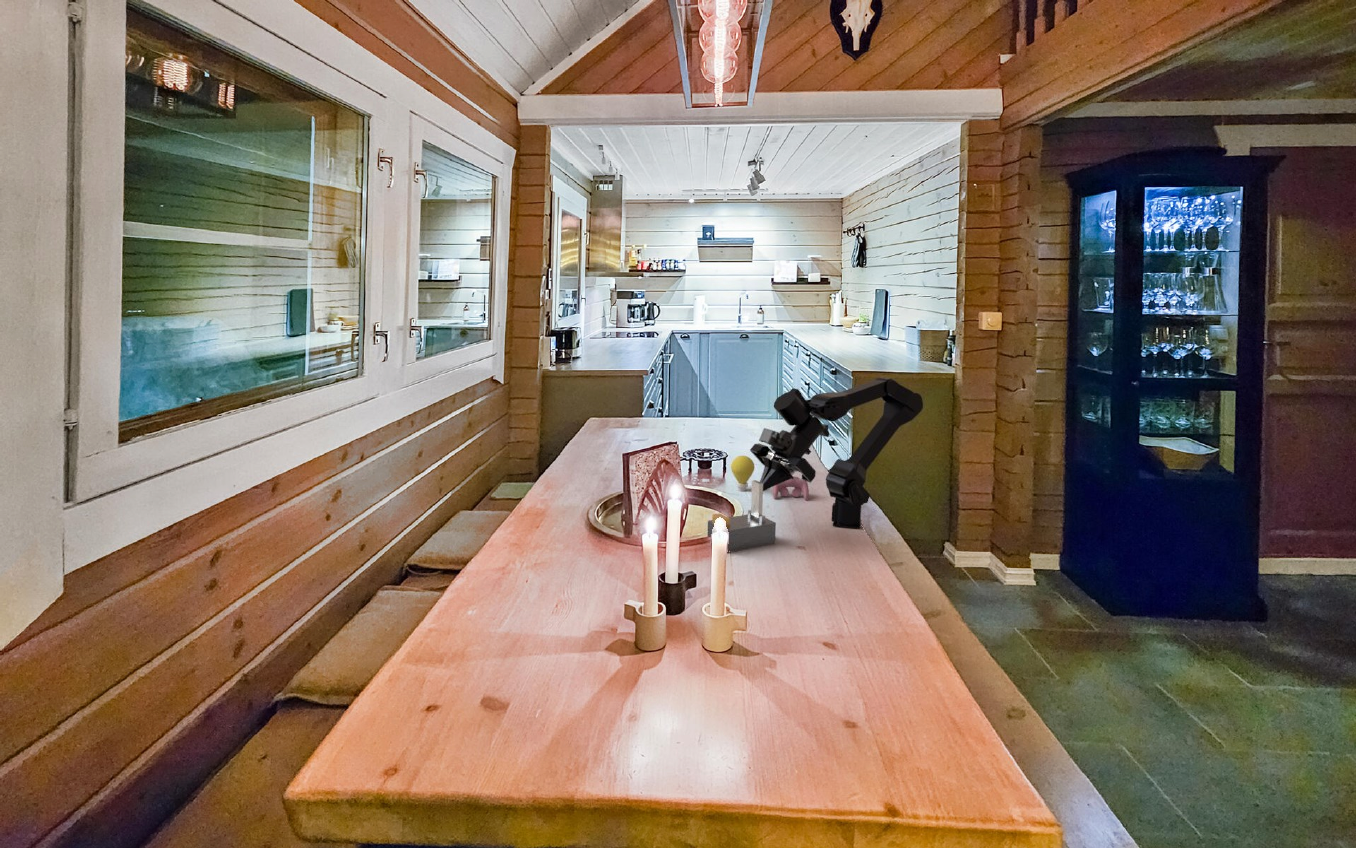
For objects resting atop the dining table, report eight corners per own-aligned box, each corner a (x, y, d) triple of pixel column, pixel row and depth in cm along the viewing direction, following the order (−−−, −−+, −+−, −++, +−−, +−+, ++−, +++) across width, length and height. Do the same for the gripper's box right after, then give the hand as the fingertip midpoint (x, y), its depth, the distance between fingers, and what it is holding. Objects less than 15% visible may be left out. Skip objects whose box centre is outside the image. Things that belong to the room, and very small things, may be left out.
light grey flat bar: (751, 516, 169) (754, 515, 170) (758, 520, 167) (762, 519, 167) (751, 480, 168) (755, 480, 168) (759, 483, 165) (763, 483, 166)
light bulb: (754, 493, 208) (755, 458, 206) (730, 493, 208) (731, 458, 206) (752, 487, 215) (753, 453, 213) (729, 486, 215) (730, 453, 213)
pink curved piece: (807, 503, 205) (808, 478, 207) (809, 500, 201) (809, 474, 203) (772, 501, 206) (772, 476, 208) (772, 498, 202) (773, 473, 204)
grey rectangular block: (755, 533, 174) (756, 504, 173) (775, 544, 167) (776, 514, 166) (707, 541, 168) (708, 512, 167) (726, 553, 161) (726, 522, 160)
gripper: (758, 409, 175) (717, 459, 172) (807, 422, 159) (763, 478, 156) (783, 439, 180) (744, 488, 177) (834, 455, 164) (791, 509, 161)
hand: (759, 490), depth 167 cm, fingers closed, pressing on light grey flat bar
